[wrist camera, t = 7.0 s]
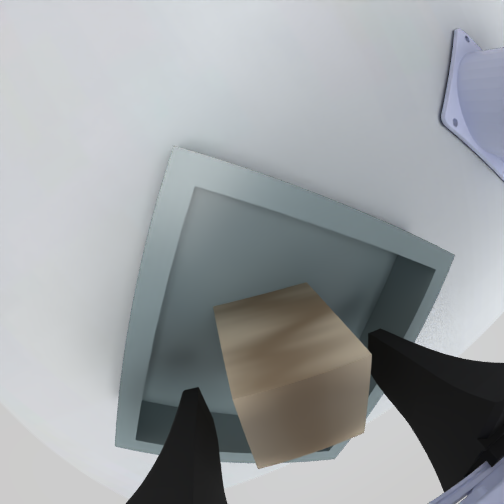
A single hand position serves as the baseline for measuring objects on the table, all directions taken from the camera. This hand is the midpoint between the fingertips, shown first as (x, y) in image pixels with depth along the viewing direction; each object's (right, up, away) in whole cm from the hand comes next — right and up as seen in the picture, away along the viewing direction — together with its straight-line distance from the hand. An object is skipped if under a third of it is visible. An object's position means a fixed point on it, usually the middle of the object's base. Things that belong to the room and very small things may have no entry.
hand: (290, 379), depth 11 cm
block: (-1, +1, +3) cm, 4 cm away
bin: (-1, +1, +4) cm, 4 cm away
